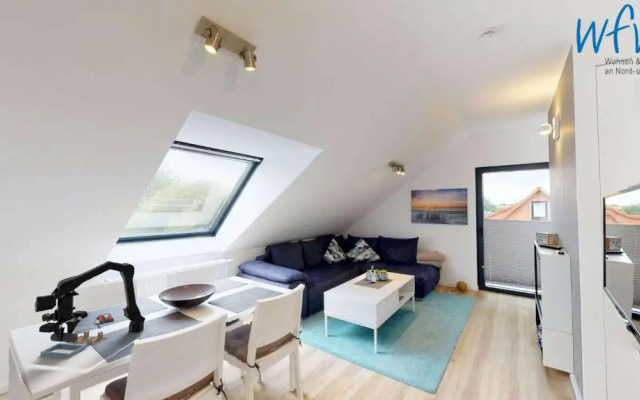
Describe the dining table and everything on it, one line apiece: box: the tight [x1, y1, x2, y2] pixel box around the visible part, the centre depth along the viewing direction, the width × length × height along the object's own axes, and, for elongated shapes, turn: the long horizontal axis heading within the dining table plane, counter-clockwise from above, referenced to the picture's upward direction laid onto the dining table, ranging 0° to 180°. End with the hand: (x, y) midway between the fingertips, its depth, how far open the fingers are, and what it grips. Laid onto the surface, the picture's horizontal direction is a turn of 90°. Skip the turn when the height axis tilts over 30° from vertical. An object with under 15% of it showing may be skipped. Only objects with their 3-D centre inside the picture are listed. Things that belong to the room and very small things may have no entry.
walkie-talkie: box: [94, 313, 115, 330], centre depth 170 cm, size 9×4×20 cm
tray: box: [40, 342, 87, 359], centre depth 135 cm, size 15×9×3 cm, turn 85°
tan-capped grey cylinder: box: [49, 332, 79, 344], centre depth 136 cm, size 11×4×4 cm, turn 85°
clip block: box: [66, 330, 108, 346], centre depth 147 cm, size 16×8×4 cm, turn 85°
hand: (64, 338), depth 136 cm, fingers closed on tan-capped grey cylinder, 4 cm apart
